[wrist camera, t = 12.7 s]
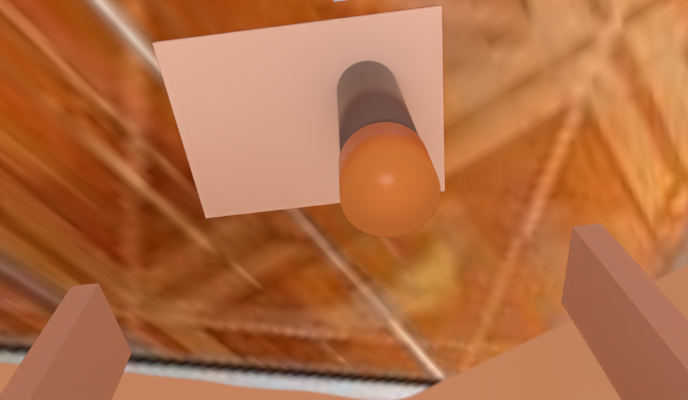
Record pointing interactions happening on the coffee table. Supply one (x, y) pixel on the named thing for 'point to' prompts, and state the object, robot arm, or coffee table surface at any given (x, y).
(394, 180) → the marker
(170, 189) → the coffee table surface
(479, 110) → the coffee table surface
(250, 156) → the paper
